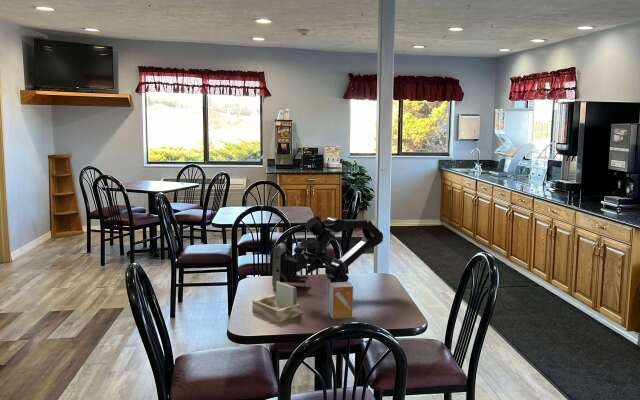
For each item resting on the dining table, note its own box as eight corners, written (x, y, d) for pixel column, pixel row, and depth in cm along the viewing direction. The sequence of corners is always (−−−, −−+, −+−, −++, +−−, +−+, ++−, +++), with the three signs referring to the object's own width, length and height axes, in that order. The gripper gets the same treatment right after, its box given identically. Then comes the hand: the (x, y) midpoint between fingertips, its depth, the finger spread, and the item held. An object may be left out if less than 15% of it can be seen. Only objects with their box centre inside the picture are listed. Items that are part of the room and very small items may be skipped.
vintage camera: (304, 291, 247) (306, 248, 244) (271, 288, 250) (272, 245, 247) (309, 285, 256) (311, 244, 253) (277, 282, 259) (278, 241, 256)
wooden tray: (275, 304, 229) (275, 294, 228) (301, 314, 218) (301, 303, 217) (252, 311, 221) (252, 300, 220) (278, 322, 209) (278, 311, 209)
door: (278, 303, 226) (277, 281, 225) (296, 310, 218) (296, 287, 217) (275, 304, 226) (275, 281, 224) (294, 311, 217) (294, 288, 216)
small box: (332, 319, 213) (333, 287, 211) (328, 313, 219) (329, 282, 217) (352, 318, 214) (353, 286, 212) (348, 312, 221) (348, 281, 219)
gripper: (296, 227, 236) (276, 257, 230) (327, 234, 222) (307, 266, 216) (309, 242, 242) (291, 272, 236) (340, 250, 229) (321, 281, 223)
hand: (302, 272), depth 228 cm, fingers open, 5 cm apart
